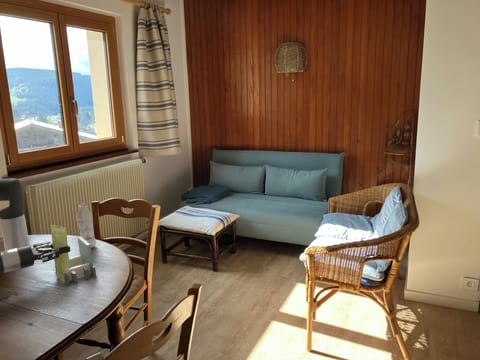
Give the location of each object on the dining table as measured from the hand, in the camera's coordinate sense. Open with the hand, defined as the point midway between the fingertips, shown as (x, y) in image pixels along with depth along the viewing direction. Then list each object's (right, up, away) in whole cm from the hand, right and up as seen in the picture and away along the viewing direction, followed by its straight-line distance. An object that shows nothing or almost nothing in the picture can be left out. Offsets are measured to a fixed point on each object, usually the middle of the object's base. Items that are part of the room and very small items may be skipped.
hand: (67, 245), depth 147 cm
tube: (-2, -11, +1) cm, 12 cm away
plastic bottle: (-2, -6, +27) cm, 28 cm away
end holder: (+2, -11, +4) cm, 12 cm away
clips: (+6, -12, -2) cm, 14 cm away
